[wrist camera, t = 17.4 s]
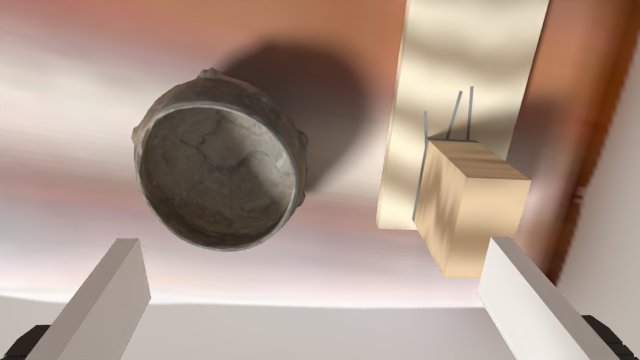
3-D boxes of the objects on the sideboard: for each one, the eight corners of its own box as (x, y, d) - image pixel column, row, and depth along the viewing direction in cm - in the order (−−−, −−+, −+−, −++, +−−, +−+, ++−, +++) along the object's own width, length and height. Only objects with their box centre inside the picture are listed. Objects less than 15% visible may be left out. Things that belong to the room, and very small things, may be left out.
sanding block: (426, 137, 38) (467, 177, 29) (476, 140, 38) (532, 180, 29) (411, 219, 41) (444, 277, 32) (457, 220, 42) (502, 279, 33)
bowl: (226, 35, 35) (199, 43, 26) (340, 152, 40) (352, 194, 31) (130, 139, 38) (76, 179, 29) (247, 235, 43) (232, 295, 34)
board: (409, -22, 34) (414, -23, 32) (542, -11, 35) (552, -12, 33) (375, 221, 43) (378, 228, 42) (480, 225, 44) (486, 232, 43)
